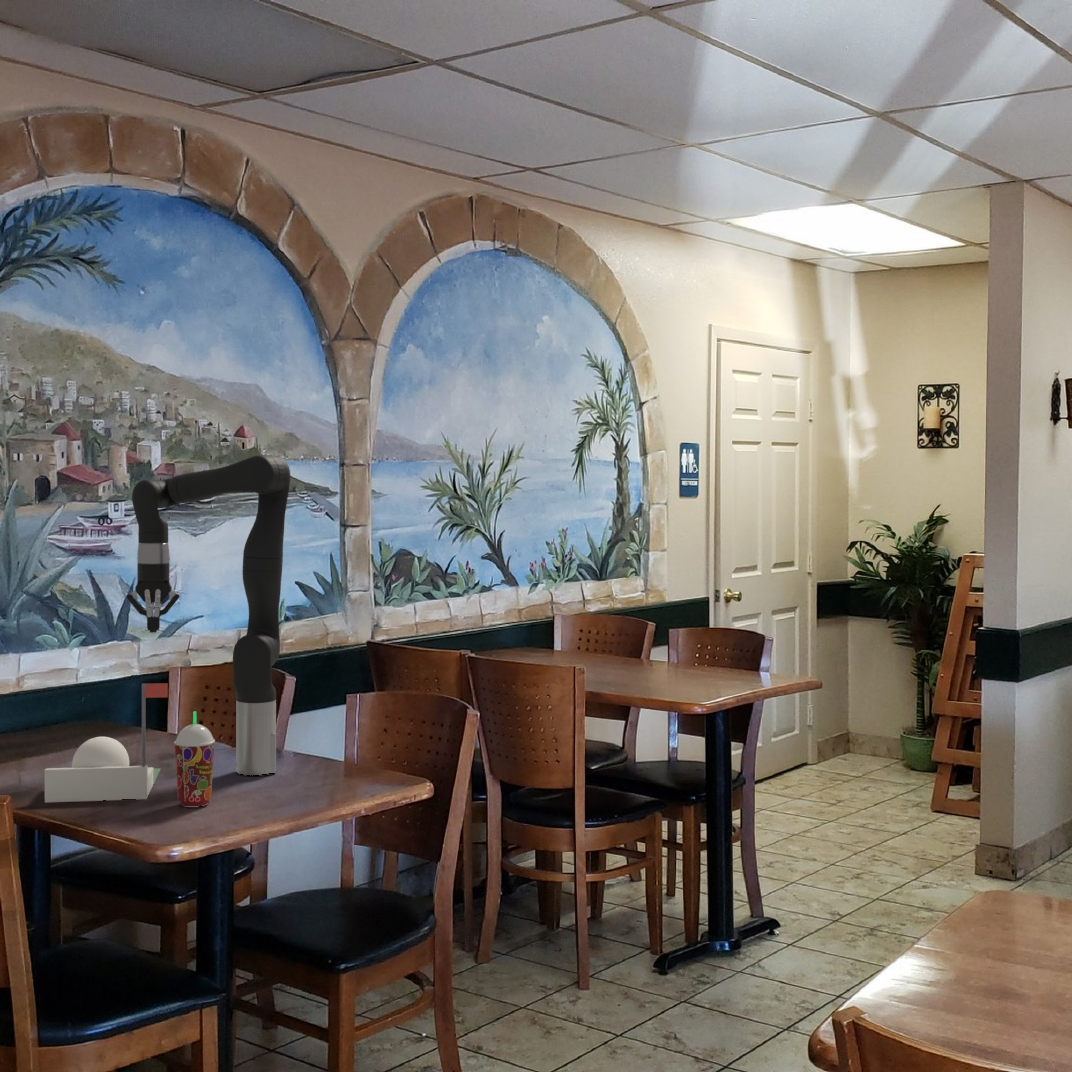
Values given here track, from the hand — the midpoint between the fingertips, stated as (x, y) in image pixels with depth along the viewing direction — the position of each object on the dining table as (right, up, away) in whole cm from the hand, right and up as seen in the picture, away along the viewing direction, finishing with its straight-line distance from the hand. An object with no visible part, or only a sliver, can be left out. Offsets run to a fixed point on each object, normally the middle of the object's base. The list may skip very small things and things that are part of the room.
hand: (153, 632), depth 315 cm
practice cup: (-2, -33, -23) cm, 40 cm away
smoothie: (+21, -34, -41) cm, 57 cm away
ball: (-2, -27, -31) cm, 41 cm away
